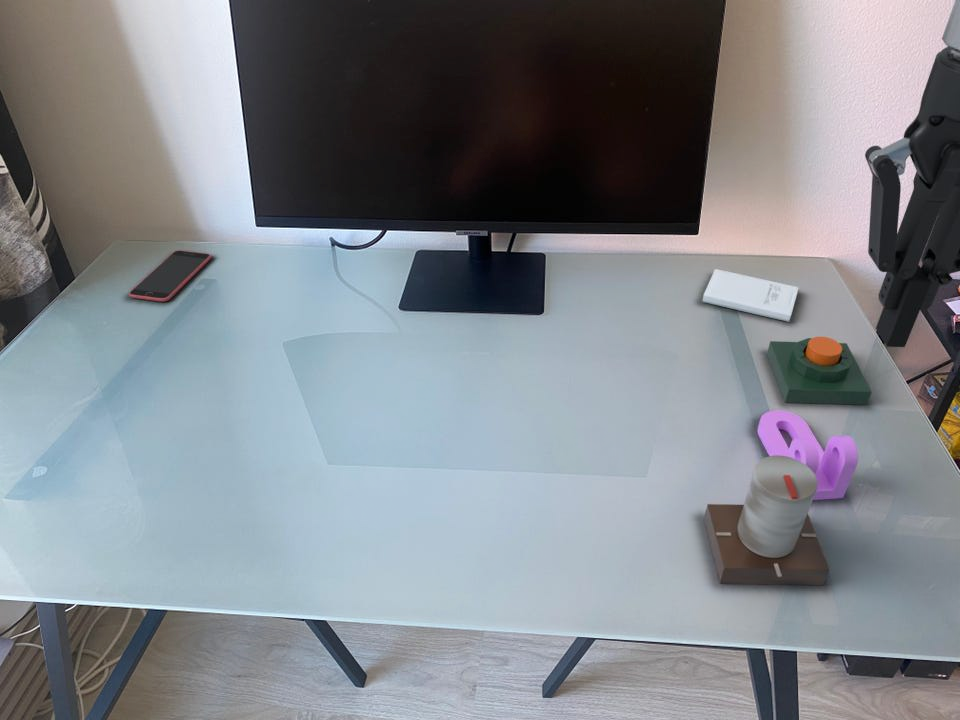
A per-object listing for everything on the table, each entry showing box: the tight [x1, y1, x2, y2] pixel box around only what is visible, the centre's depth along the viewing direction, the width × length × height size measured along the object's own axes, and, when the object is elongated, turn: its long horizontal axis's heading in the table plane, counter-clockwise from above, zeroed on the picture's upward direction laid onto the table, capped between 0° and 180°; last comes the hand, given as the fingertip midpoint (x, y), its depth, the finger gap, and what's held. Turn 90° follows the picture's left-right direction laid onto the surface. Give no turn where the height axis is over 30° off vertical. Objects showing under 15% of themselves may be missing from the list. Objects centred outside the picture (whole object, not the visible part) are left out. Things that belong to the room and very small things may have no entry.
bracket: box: [756, 409, 859, 501], centre depth 85 cm, size 13×6×7 cm, turn 4°
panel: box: [703, 503, 830, 586], centre depth 76 cm, size 10×10×3 cm
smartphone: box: [128, 249, 212, 302], centre depth 121 cm, size 7×1×14 cm
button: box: [805, 336, 842, 366], centre depth 95 cm, size 4×4×2 cm
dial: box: [737, 455, 818, 558], centre depth 73 cm, size 6×6×9 cm
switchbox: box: [766, 337, 873, 406], centre depth 97 cm, size 10×10×4 cm
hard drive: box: [702, 268, 800, 323], centre depth 112 cm, size 2×8×12 cm
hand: (890, 337), depth 65 cm, fingers closed
